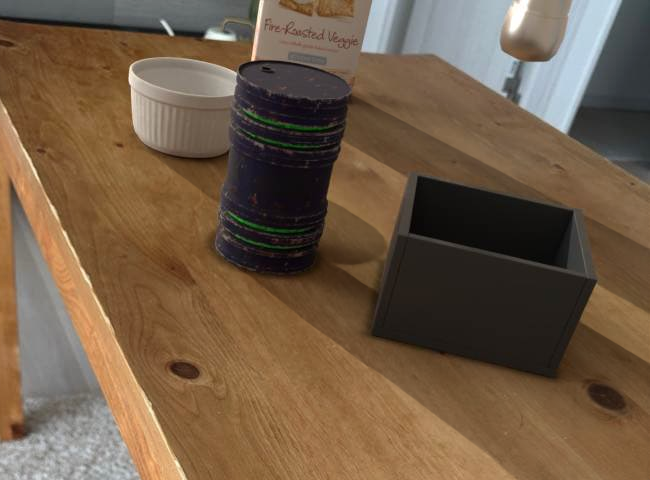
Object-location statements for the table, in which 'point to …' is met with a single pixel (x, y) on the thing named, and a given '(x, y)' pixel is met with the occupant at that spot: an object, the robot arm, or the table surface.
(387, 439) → the table surface
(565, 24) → the silver metal bottle
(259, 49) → the cracker box
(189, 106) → the ramekin
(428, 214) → the bin
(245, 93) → the storage jar
